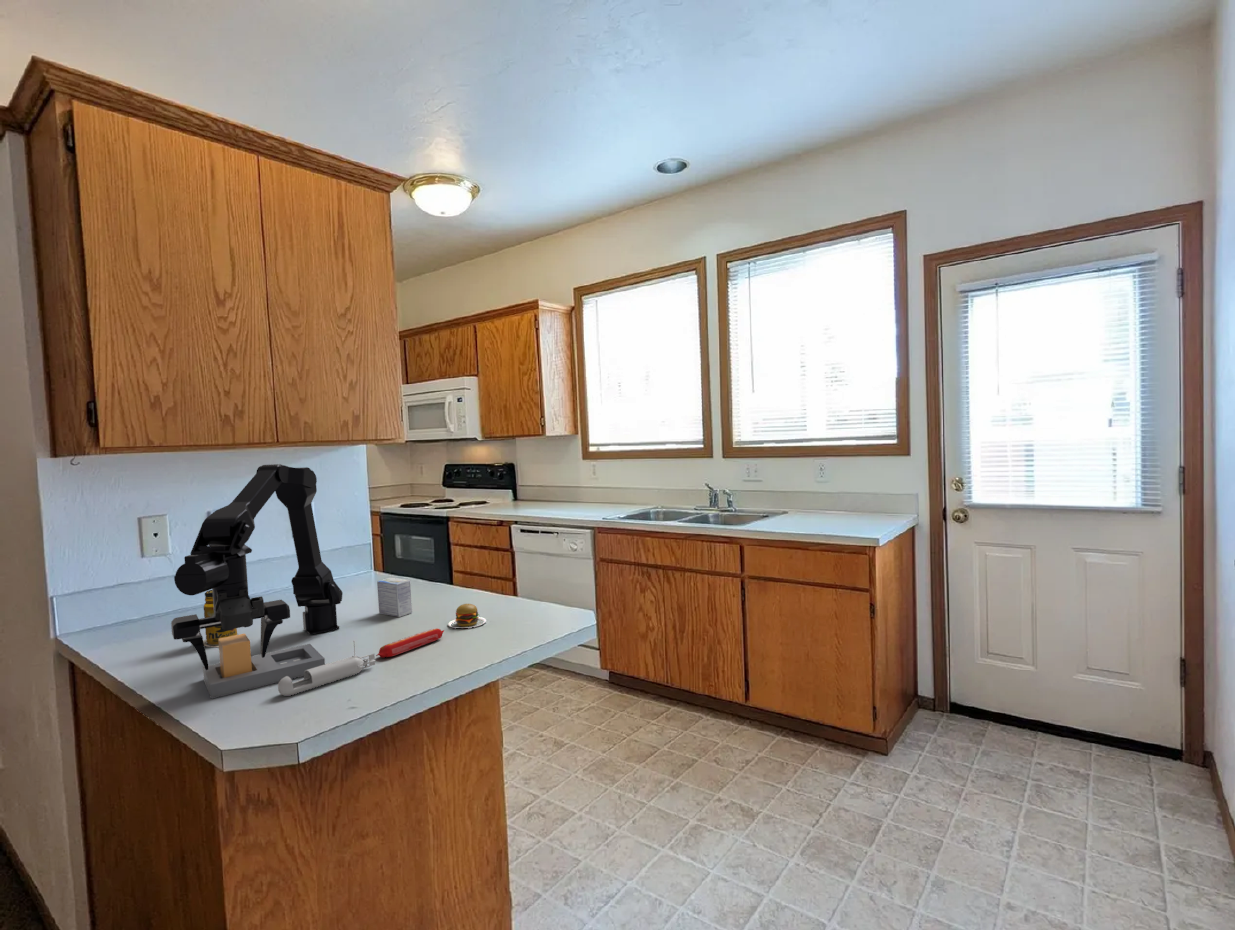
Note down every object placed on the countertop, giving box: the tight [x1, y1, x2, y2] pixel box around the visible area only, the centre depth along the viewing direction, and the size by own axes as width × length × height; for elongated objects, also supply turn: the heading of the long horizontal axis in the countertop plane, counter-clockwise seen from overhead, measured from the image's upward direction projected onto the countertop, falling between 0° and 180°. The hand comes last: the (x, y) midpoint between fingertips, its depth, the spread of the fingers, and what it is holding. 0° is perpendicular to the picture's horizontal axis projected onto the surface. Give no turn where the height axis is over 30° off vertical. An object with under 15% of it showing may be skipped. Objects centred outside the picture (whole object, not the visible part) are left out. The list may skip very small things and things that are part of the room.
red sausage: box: [375, 628, 445, 659], centre depth 137 cm, size 16×4×3 cm, turn 146°
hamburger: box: [447, 603, 487, 629], centre depth 153 cm, size 12×12×6 cm
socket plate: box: [202, 643, 326, 699], centre depth 124 cm, size 19×12×2 cm, turn 128°
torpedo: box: [277, 640, 377, 697], centre depth 120 cm, size 18×5×7 cm, turn 140°
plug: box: [218, 633, 252, 678], centre depth 122 cm, size 4×9×7 cm, turn 38°
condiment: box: [203, 589, 238, 648], centre depth 146 cm, size 7×8×12 cm
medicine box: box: [377, 577, 413, 618], centre depth 164 cm, size 8×4×9 cm, turn 57°
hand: (235, 663), depth 121 cm, fingers open, 9 cm apart
